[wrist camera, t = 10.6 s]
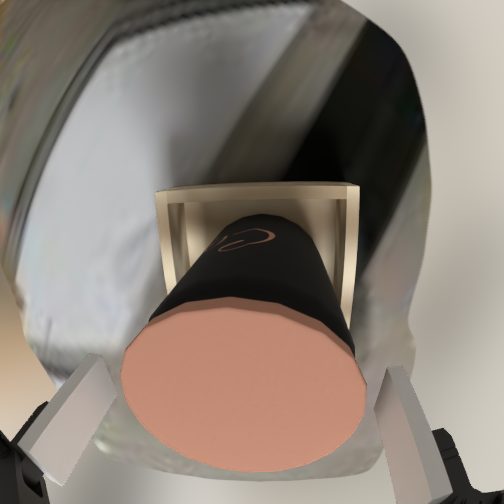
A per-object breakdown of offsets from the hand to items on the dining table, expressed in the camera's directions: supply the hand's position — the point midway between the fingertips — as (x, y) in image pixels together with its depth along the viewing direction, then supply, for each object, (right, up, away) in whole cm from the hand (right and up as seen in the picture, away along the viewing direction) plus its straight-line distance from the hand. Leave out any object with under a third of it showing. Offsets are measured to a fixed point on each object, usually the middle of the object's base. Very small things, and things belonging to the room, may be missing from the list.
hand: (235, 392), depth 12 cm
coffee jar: (+2, +5, +16) cm, 17 cm away
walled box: (+2, +3, +17) cm, 18 cm away
